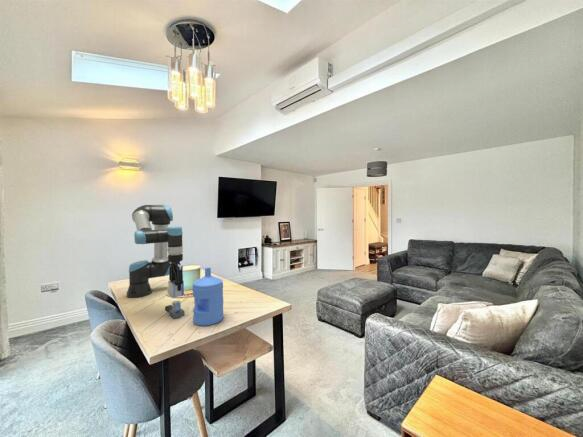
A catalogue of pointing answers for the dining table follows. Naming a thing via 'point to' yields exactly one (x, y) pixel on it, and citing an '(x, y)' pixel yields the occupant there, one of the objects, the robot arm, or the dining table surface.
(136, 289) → the robot arm
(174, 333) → the dining table surface
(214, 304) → the water jug
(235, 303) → the dining table surface
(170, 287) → the socket
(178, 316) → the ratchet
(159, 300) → the dining table surface
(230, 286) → the dining table surface
